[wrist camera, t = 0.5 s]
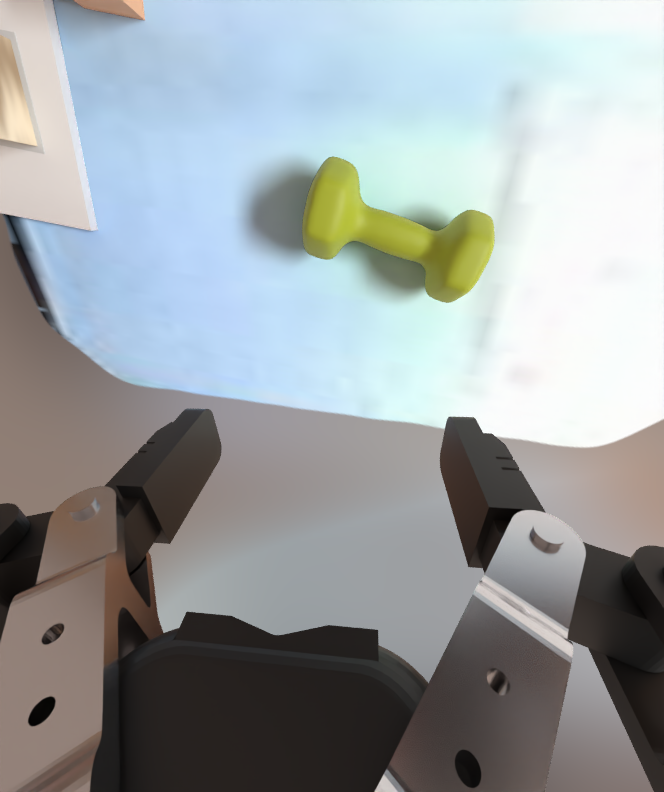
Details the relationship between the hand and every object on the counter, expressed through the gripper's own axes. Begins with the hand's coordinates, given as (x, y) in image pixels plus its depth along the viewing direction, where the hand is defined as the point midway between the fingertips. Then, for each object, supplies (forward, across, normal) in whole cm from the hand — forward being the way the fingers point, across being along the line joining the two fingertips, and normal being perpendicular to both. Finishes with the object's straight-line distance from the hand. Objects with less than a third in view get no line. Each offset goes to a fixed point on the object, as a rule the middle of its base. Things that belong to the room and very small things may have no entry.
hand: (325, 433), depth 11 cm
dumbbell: (+27, -4, -4) cm, 28 cm away
